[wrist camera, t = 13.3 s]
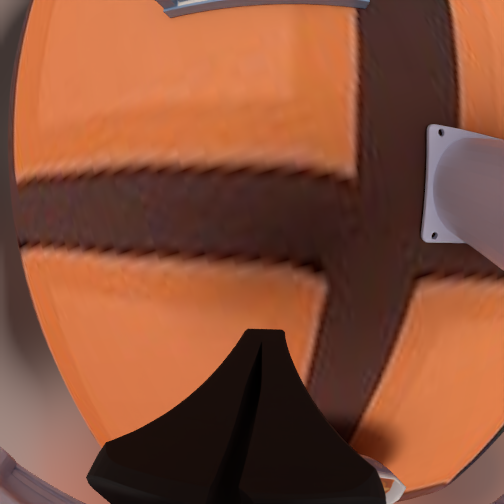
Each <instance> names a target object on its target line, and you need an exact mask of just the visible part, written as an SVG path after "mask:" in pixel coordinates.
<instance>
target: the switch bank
mask: <svg viewBox="0 0 504 504" xmlns="http://www.w3.org/2000/svg"><path fill="white" fill-rule="evenodd" d="M155 1H157V2H158V3H159V4H160V5H161V6H162V7H163V8H164V13H165V14H166V15H168V16H169V17H170V18H172V17H176V16H181V15H185V14H190V13H196V12H201V11H207V10H214V9H221V8H229V7H237V6H248V5H262V4H322V5H337V6H347V7H356V8H364V9H366V7H367V5H368V4H369V2H370V0H155Z"/></svg>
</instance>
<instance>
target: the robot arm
mask: <svg viewBox="0 0 504 504" xmlns="http://www.w3.org/2000/svg"><path fill="white" fill-rule="evenodd" d="M439 129H440V130H441V131H442V135H441V136H440V135H439V134H438V131H439ZM434 232H435V236H434V237H433V238H432V234H433V233H434ZM421 238H422V240H424V241H425V242H428V243H467V244H468V245H470V246H471V247H473V248H474V249H475V250H477V251H478V252H480V253H481V254H482V255H484V256H485V257H486V258H488V259H489V260H490V261H492V262H493V263H494V264H496V265H497V266H498V267H499V268H501V269H502V270H503V271H504V140H502V139H498V138H495V137H491V136H487V135H483V134H479V133H475V132H471V131H466V130H462V129H457V128H452V127H447V126H442V125H436V124H430V125H429V126H428V127H427V160H426V184H425V198H424V210H423V219H422V228H421ZM86 478H87V480H88V483H89V484H90V486H91V487H92V488H93V489H94V490H96V491H97V492H98V493H99V494H100V495H101V496H103V497H104V498H105V499H106V500H107V501H108V502H110V503H111V504H387V503H386V494H385V491H384V487H383V484H382V481H381V479H380V476H379V474H378V472H377V470H376V468H375V467H374V466H372V465H371V464H370V463H369V462H368V461H366V460H365V459H364V458H363V457H362V456H361V455H359V454H358V453H357V452H356V451H355V450H354V449H353V448H352V447H351V446H350V445H349V444H348V443H347V442H346V441H345V440H344V439H343V438H342V437H341V436H340V435H339V433H338V432H337V431H336V430H335V429H334V428H333V426H332V425H331V424H330V423H329V422H328V421H327V419H326V418H325V417H324V415H323V414H322V413H321V411H320V410H319V409H318V407H317V406H316V404H315V403H314V401H313V400H312V398H311V396H310V395H309V393H308V391H307V390H306V388H305V386H304V384H303V382H302V381H301V379H300V377H299V375H298V373H297V370H296V368H295V366H294V363H293V361H292V359H291V356H290V353H289V350H288V347H287V343H286V339H285V332H284V331H283V330H273V329H247V330H246V331H245V332H244V334H243V335H242V337H241V338H240V340H239V341H238V343H237V344H236V346H235V347H234V348H233V350H232V351H231V353H230V354H229V355H228V356H227V358H226V359H225V360H224V361H223V363H222V364H221V365H220V366H219V367H218V368H217V369H216V371H215V372H214V373H213V374H212V375H211V376H210V377H209V378H208V379H207V380H206V381H205V382H204V383H203V384H202V385H201V386H200V387H199V388H198V389H197V390H196V391H194V392H193V393H192V394H191V395H190V396H189V397H187V398H186V399H185V400H184V401H182V402H181V403H180V404H178V405H177V406H176V407H174V408H173V409H171V410H170V411H168V412H167V413H165V414H164V415H162V416H161V417H159V418H157V419H156V420H154V421H152V422H150V423H149V424H147V425H145V426H143V427H141V428H139V429H138V430H136V431H133V432H131V433H129V434H126V435H124V436H122V437H119V438H117V439H114V440H112V441H109V442H106V443H105V445H104V446H103V448H102V449H101V451H100V452H99V454H98V456H97V457H96V459H95V461H94V463H93V465H92V467H91V469H90V471H89V473H88V475H87V477H86ZM0 504H85V503H83V502H81V501H79V500H77V499H75V498H73V497H71V496H69V495H68V494H66V493H63V492H62V491H60V490H58V489H57V488H55V487H53V486H52V485H50V484H48V483H46V482H45V481H43V480H42V479H40V478H38V477H37V476H35V475H33V474H32V473H31V472H29V471H28V470H26V469H25V468H23V467H22V466H20V465H19V464H18V463H16V461H15V460H14V459H13V458H12V457H11V456H10V455H9V454H8V453H7V452H6V451H5V450H4V449H2V448H1V447H0ZM491 504H504V494H503V495H502V496H500V497H499V498H498V499H497V500H496V501H495V502H493V503H491Z"/></svg>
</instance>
